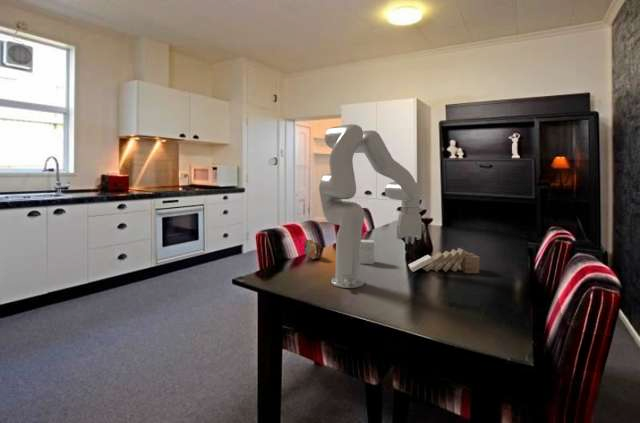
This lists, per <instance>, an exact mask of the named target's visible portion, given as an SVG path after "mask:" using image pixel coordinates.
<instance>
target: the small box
mask: <svg viewBox="0 0 640 423" xmlns="http://www.w3.org/2000/svg"><path fill="white" fill-rule="evenodd" d="M360 265H375V240H374V239H361V259H360Z"/></svg>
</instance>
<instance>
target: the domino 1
mask: <svg viewBox="0 0 640 423" xmlns="http://www.w3.org/2000/svg"><path fill="white" fill-rule="evenodd" d="M431 262H433V259H432V256H430V255H429V254H427V255H424V256H422V257H421V258H418V259H416V260H415V261H413V262H411V263H408V265H407V266H408V267H409V269H410V270H411V272H416V271H417V270H419V269H423V268H422V267H423V266H425V265H427V264H429V263H431Z"/></svg>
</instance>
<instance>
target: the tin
mask: <svg viewBox="0 0 640 423" xmlns="http://www.w3.org/2000/svg"><path fill="white" fill-rule="evenodd" d="M303 246H304V248H303V249H304V254H305V255H307V256H306V257H308V256H309V257H308V258H310V257H311V258H310V259H312V260H314V259H315V260H317V259H319V258H320V257H321V249H322V248H321V244H320V243H319V242H318V241H315V240H313V239H306V240H305V242H304V245H303Z"/></svg>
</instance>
